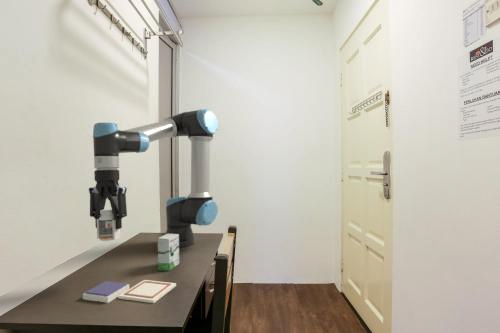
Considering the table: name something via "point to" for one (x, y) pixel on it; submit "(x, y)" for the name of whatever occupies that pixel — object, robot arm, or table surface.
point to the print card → (147, 291)
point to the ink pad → (105, 291)
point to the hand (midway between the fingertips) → (108, 237)
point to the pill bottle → (106, 225)
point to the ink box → (168, 251)
